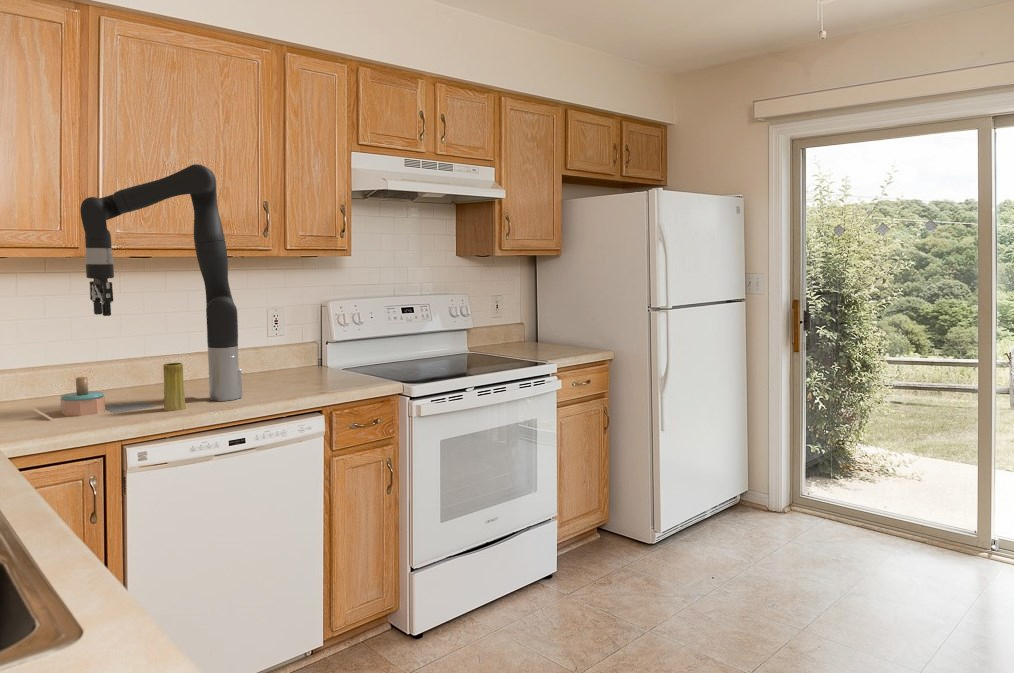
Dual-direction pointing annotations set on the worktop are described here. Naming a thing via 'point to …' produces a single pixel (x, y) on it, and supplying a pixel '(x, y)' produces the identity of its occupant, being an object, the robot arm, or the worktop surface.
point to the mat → (128, 406)
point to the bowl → (83, 407)
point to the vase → (173, 387)
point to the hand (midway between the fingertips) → (102, 315)
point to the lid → (82, 392)
